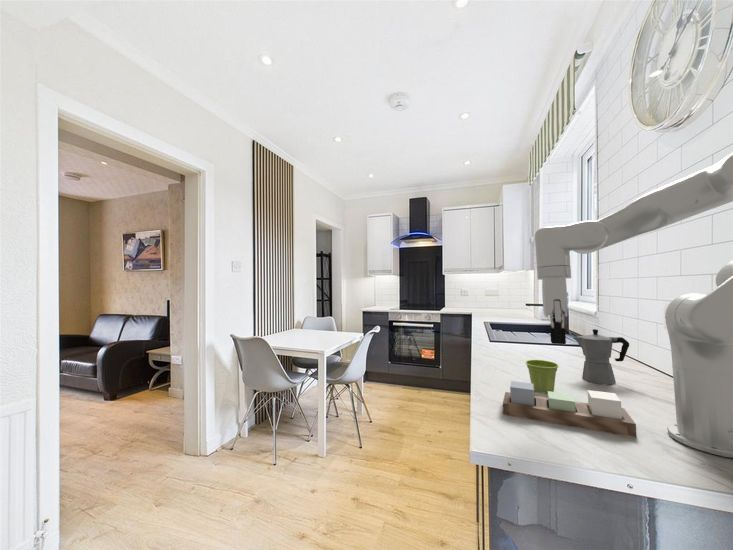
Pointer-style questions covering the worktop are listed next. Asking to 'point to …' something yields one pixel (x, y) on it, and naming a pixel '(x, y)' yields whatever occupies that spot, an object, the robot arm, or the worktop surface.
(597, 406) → the white button
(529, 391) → the grey button
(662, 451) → the worktop surface
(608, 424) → the button housing
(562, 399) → the sage button
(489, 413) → the worktop surface
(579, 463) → the worktop surface
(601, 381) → the coffeepot
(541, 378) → the plant pot
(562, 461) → the worktop surface
